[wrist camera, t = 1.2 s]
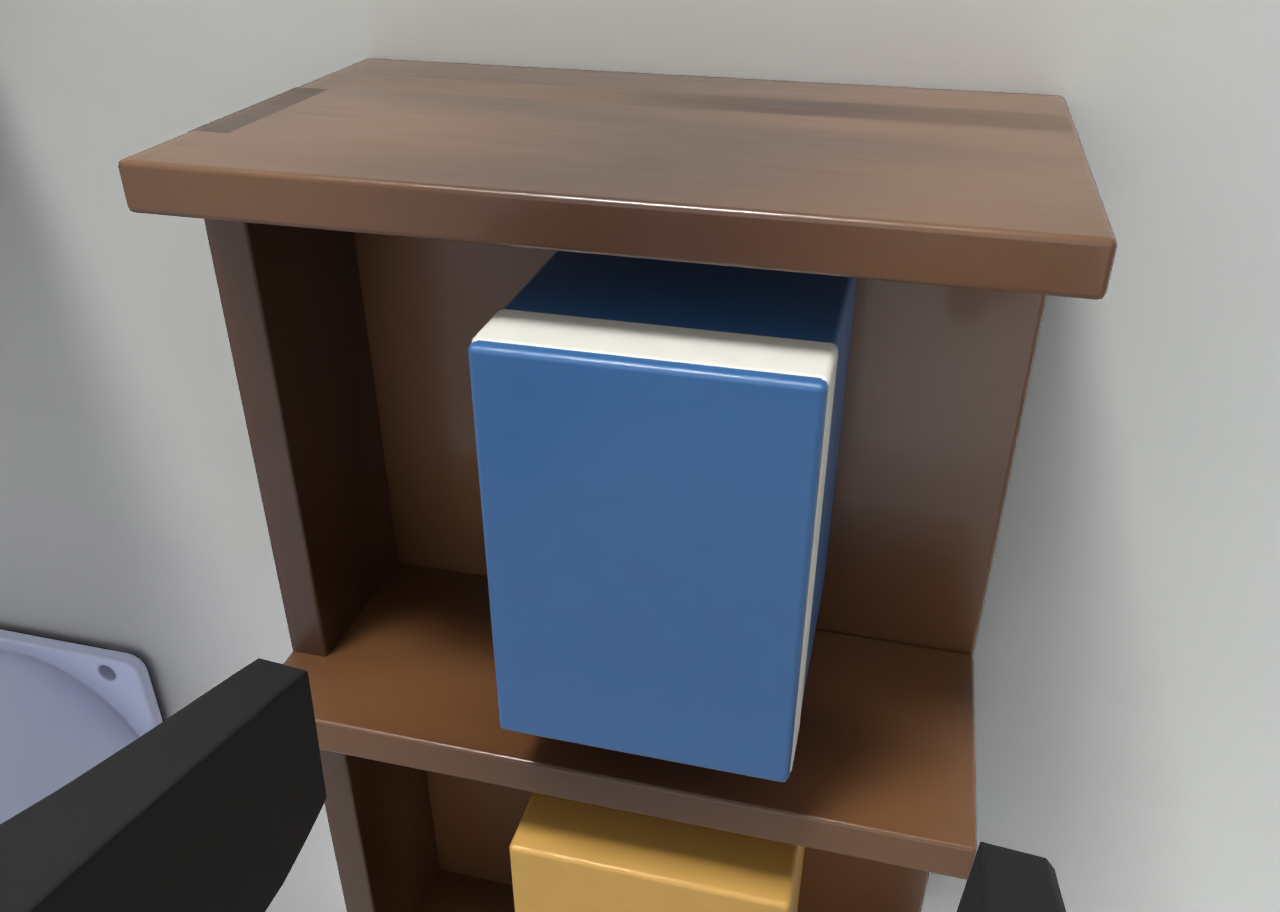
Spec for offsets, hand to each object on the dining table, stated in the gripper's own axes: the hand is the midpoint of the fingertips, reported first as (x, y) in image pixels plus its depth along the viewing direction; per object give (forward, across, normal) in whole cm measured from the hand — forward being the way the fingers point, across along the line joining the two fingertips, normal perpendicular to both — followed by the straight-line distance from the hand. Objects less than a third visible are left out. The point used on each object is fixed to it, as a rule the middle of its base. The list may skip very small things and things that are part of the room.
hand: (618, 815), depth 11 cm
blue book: (+9, +1, 0) cm, 9 cm away
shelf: (+11, +2, +5) cm, 12 cm away
